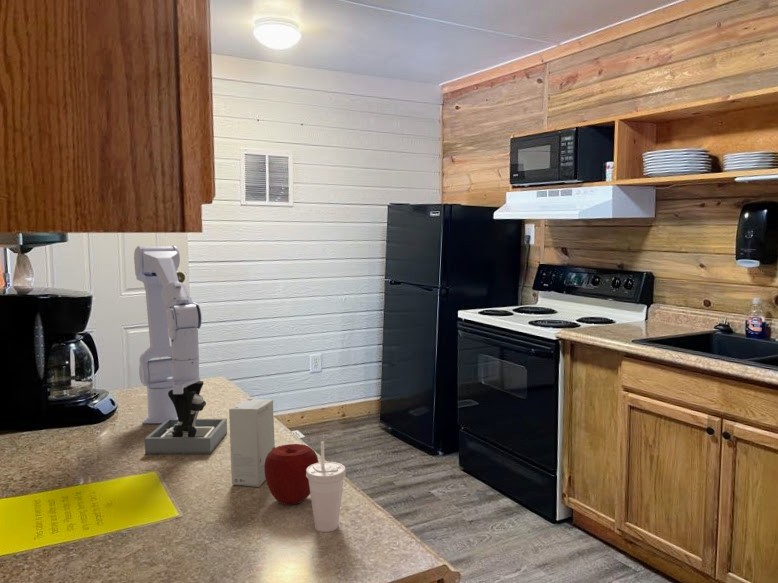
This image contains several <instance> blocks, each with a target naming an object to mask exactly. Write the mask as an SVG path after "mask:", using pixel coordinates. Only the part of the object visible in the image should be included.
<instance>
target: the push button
mask: <svg viewBox="0 0 778 583" xmlns="http://www.w3.org/2000/svg"><path fill="white" fill-rule="evenodd" d="M206 404H207V402H206V401H205V400H204V397H203V395H201V394H199V395H198V394H195V395H194V398H193V401H192V406H191V415H190V420H189V422H177V424H175V425H174V427H173V429H166V430H167V431H172V433H165V434H166V435H172V436H173V437H195V434H196V431H197V430H196V429H195V427H194V426H195V422H196V419H198V416H199V413H200V412H201V411H203V410H204V407H205V406H206ZM194 412H195V413H194Z"/></svg>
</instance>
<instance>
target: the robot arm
mask: <svg viewBox="0 0 778 583" xmlns="http://www.w3.org/2000/svg"><path fill="white" fill-rule="evenodd" d="M180 256H181V255H180V250H179V249H178V247H177V246H176V245H160V246H159V245H152V246H151V245H150V246H148V245H146V246H141V245H137V246H136V248H134V254H133V261H134V263H133V264H134V274H135V276H136V280H137V281H139V282H142V283H143V286H144V290H145V301H146V312H147V314H146V315H147V323H148V324H147V325H148V335H149V345H150V346H149V348H147V349H146V350H145V351H143V353H142V354H141V355H140V356H139V365H138V366H139V367H138V370H139V371H138V372H139V373H138V374H139V379H140V383H141V384H142V385H143V386H144V387H146V394H147V395H146V398H147V399H146V400H147V417H146V418H145V419H144V420H142V424H162V423H163V422H165V421H166V420H167V419H178V420H179V422H189V420H190V415H191V406H192V401H193V398H194V395H195V394H198V395H201V394H200V393H201V391H202V389H203V386H204V381H203V380H201V376H200V355H199V350H200V349H199V329H200V328H201V327H202V320H203V318H202V311H201V308H200V304H199V303H197V302H195V300H192V299H191V296H190V293H189V292H188V289H187V286H186V285H185V284H184V283H183V282H180V280H179V277H178V274H177V271H178V268H179V267H180V264H181V263H180V262H181V260H180V259H181V257H180ZM170 342H171V343H170ZM164 357H166V358H164ZM167 357H169V358H167ZM156 358H158V359H156ZM159 358H160V359H159ZM194 413H195V412H194Z"/></svg>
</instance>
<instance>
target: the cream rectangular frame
mask: <svg viewBox="0 0 778 583" xmlns="http://www.w3.org/2000/svg"><path fill="white" fill-rule="evenodd" d="M170 429H173V427H172V428H170ZM195 429H196V430H197V431H196V434H195V436H204V437H208V436H209V435H210V434H211V433H212V431H213V430H214V429H215V427H195ZM165 433H172V431H166V432H165ZM165 433H164V434H163V435H162V436H161V437H173V436H172V435H166V434H165Z"/></svg>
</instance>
